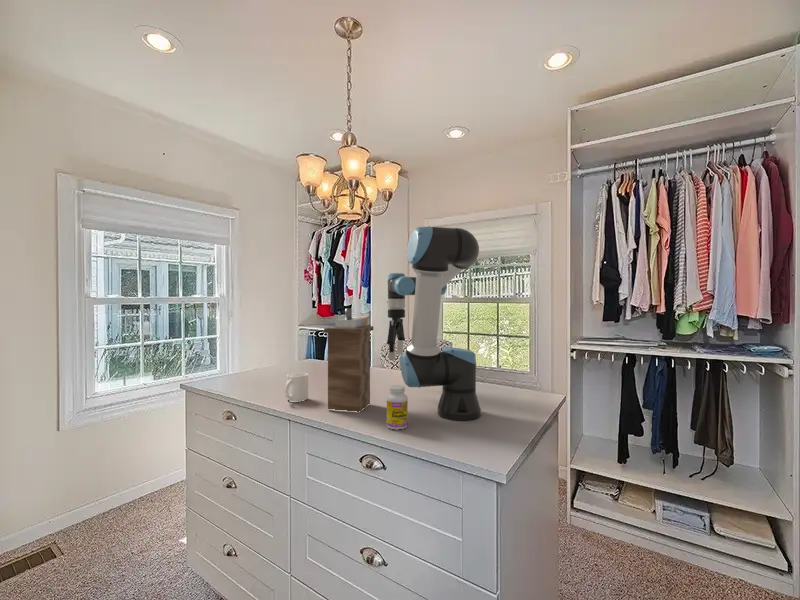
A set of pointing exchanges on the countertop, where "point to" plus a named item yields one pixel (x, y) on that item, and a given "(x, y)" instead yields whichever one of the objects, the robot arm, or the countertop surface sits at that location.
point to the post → (348, 368)
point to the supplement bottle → (397, 408)
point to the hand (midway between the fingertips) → (396, 357)
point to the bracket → (350, 321)
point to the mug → (297, 387)
